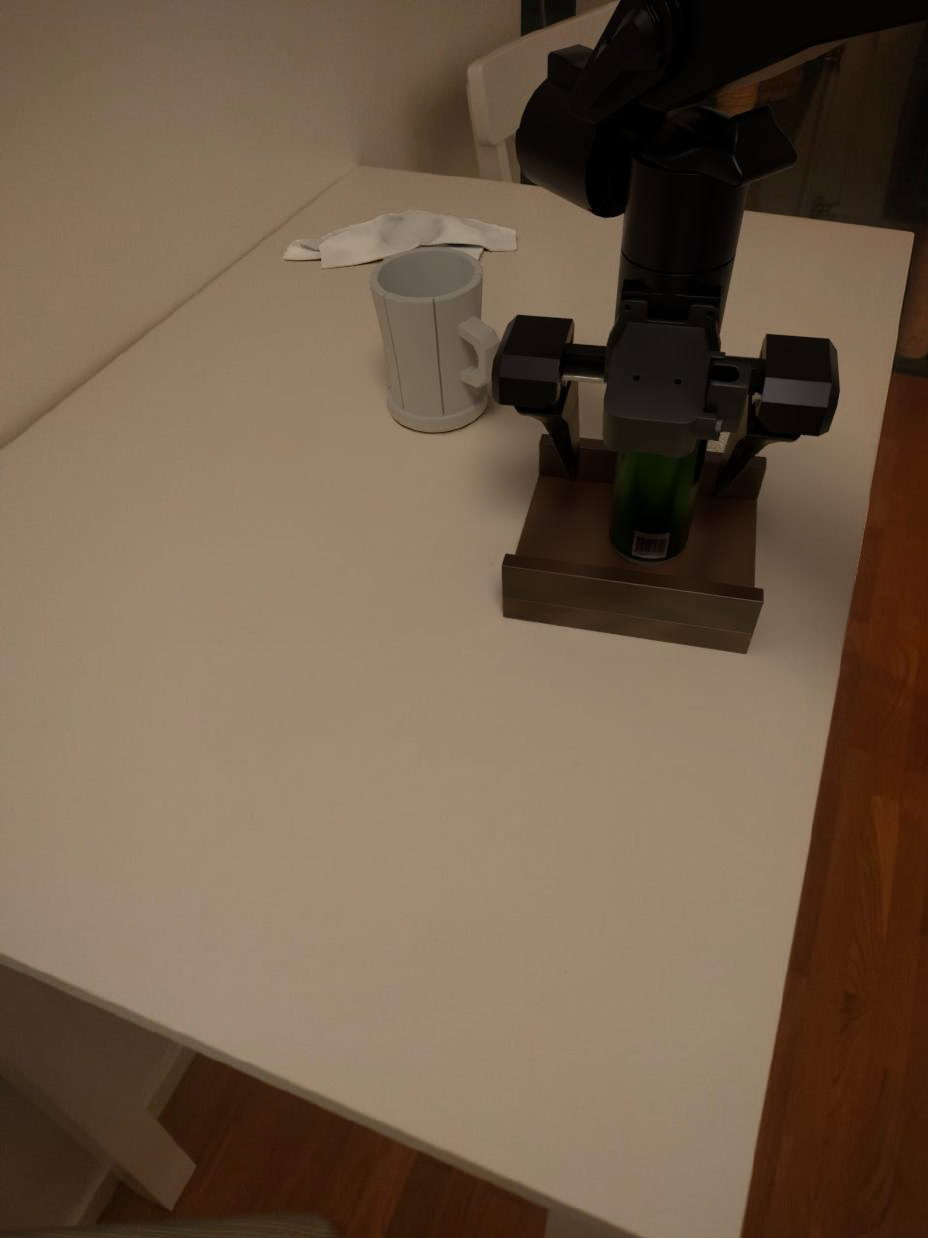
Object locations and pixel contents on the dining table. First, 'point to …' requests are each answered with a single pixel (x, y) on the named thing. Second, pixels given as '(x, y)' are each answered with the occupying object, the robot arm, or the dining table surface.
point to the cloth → (402, 238)
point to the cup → (434, 337)
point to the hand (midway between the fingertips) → (644, 486)
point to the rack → (628, 593)
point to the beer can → (654, 504)
